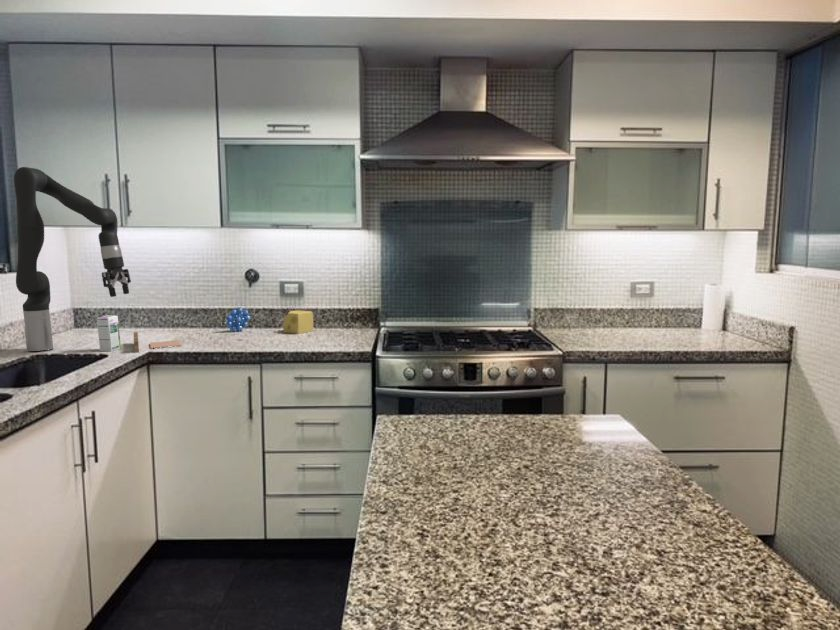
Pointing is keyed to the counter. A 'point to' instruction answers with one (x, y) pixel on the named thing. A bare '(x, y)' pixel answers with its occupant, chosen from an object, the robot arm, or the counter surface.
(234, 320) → the grapes
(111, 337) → the syrup box
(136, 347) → the walnut wall
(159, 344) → the terracotta tile
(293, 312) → the cheese
